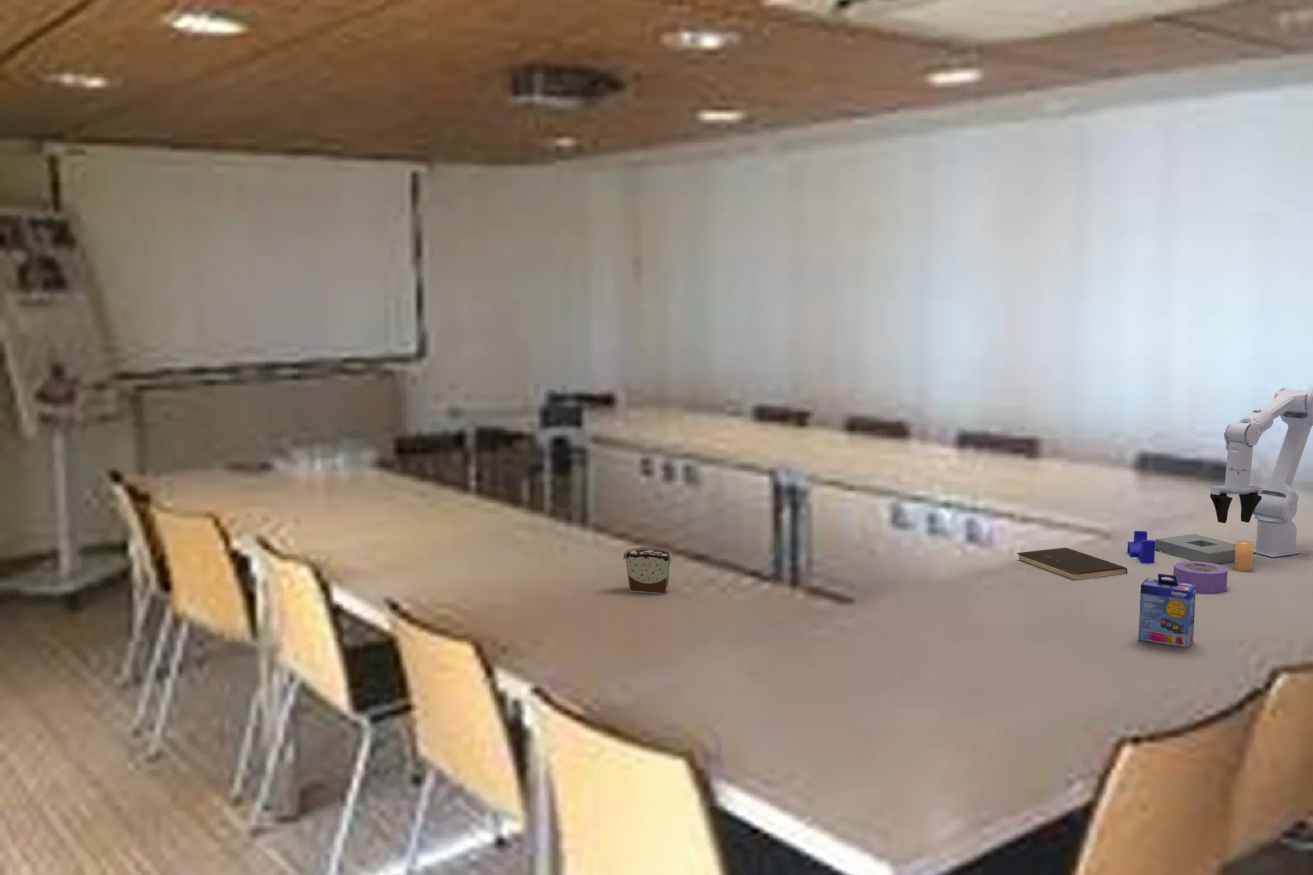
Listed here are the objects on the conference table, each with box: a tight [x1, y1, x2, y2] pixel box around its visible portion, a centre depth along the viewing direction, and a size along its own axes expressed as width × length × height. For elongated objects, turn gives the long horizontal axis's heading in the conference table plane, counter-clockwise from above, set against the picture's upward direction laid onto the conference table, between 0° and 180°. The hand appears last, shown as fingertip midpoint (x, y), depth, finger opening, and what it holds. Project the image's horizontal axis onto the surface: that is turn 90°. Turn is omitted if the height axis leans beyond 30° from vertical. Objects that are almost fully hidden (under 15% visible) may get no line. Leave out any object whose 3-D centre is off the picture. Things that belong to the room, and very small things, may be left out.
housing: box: [1154, 533, 1236, 565], centre depth 322 cm, size 14×18×3 cm
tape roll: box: [1172, 560, 1229, 594], centre depth 291 cm, size 12×12×5 cm
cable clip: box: [1126, 530, 1156, 564], centre depth 320 cm, size 12×4×6 cm, turn 169°
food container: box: [623, 546, 674, 595], centre depth 296 cm, size 12×6×10 cm, turn 71°
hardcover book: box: [1016, 547, 1128, 581], centre depth 312 cm, size 16×23×2 cm
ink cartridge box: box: [1138, 573, 1197, 648], centre depth 250 cm, size 10×6×14 cm, turn 55°
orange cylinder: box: [1233, 540, 1254, 573], centre depth 306 cm, size 4×4×7 cm
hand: (1233, 522), depth 312 cm, fingers open, 7 cm apart
